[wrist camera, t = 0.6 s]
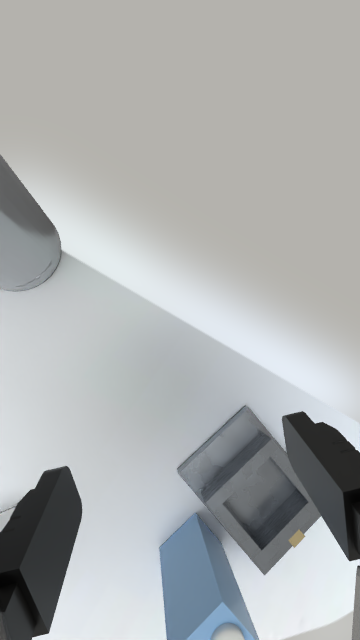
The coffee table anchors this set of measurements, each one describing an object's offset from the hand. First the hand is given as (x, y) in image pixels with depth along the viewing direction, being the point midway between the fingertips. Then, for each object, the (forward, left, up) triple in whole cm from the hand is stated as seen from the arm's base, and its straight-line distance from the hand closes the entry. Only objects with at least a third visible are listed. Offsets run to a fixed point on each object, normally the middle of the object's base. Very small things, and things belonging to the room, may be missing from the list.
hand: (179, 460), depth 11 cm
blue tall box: (+16, -8, -22) cm, 28 cm away
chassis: (+16, +1, -22) cm, 27 cm away
